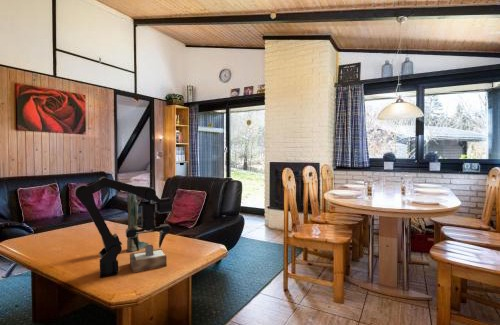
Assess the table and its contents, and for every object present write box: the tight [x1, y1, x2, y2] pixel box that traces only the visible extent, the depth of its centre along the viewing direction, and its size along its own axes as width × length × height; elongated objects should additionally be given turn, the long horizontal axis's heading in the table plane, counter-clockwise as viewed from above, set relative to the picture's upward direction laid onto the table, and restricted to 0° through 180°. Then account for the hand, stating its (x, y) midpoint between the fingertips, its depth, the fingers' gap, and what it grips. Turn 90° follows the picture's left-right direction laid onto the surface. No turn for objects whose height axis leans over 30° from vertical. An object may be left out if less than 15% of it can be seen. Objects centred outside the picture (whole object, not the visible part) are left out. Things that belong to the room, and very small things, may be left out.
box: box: [129, 248, 167, 273], centre depth 129 cm, size 14×12×4 cm
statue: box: [125, 193, 149, 253], centre depth 152 cm, size 7×11×30 cm, turn 149°
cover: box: [134, 244, 166, 260], centre depth 129 cm, size 12×9×5 cm
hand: (149, 249), depth 129 cm, fingers open, 9 cm apart
